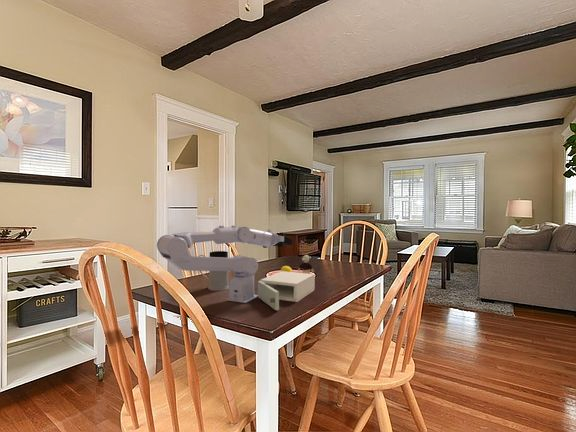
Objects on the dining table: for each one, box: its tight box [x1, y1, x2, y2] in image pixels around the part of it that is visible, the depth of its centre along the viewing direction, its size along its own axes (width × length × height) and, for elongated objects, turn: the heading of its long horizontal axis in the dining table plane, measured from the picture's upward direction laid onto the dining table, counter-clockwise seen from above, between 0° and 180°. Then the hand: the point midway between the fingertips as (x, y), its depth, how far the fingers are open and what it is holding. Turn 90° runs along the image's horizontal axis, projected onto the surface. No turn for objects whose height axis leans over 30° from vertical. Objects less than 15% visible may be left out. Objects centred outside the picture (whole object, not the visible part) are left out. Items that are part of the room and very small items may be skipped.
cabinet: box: [259, 270, 316, 303], centre depth 125 cm, size 18×15×6 cm
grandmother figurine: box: [297, 254, 315, 274], centre depth 141 cm, size 8×4×13 cm, turn 74°
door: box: [257, 280, 280, 311], centre depth 111 cm, size 2×17×6 cm, turn 25°
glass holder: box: [198, 250, 229, 291], centre depth 134 cm, size 9×14×15 cm, turn 81°
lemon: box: [280, 265, 293, 272], centre depth 155 cm, size 7×5×5 cm
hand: (285, 242), depth 131 cm, fingers open, 7 cm apart
